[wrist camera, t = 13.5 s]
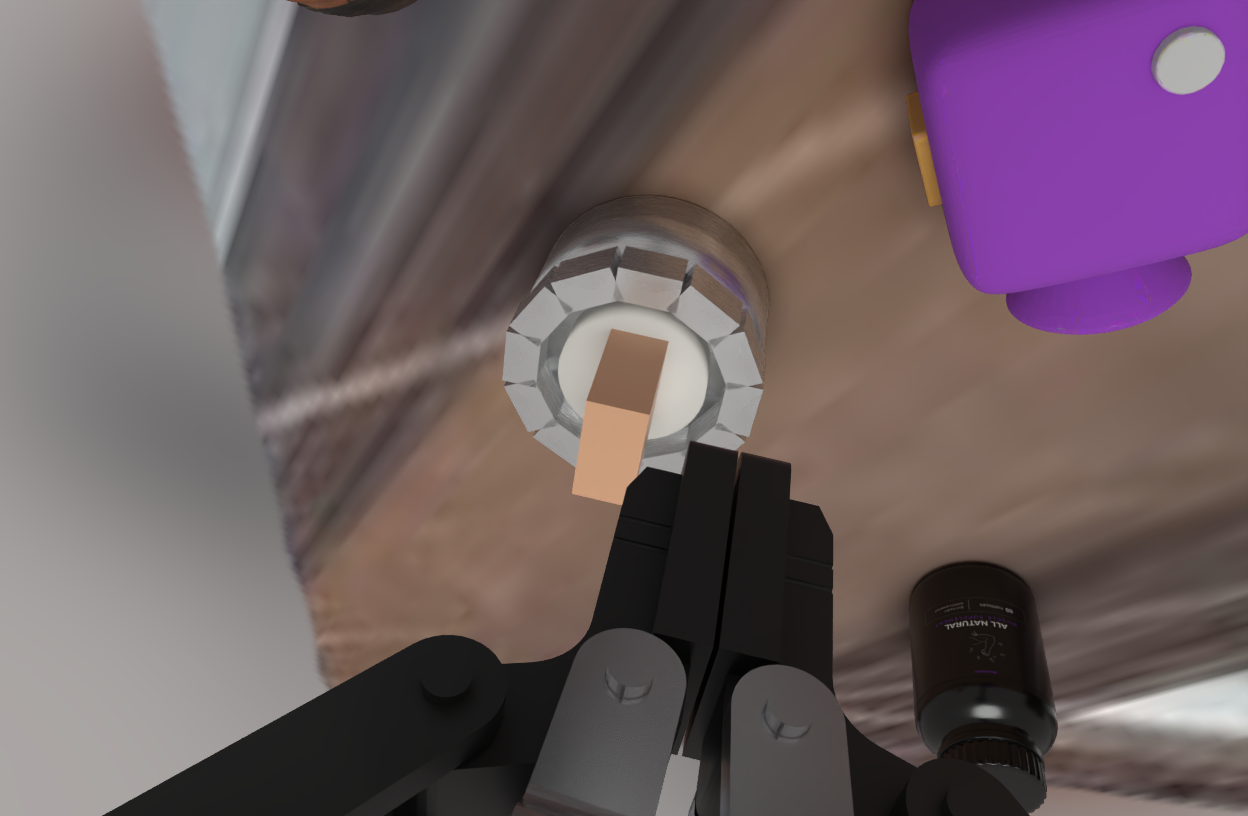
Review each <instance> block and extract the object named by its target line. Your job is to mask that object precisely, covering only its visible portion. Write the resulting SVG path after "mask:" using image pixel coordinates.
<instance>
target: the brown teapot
mask: <svg viewBox="0 0 1248 816" xmlns="http://www.w3.org/2000/svg"><path fill="white" fill-rule="evenodd" d="M287 1H291V2H297V3H298V5H300V6H303V7H305V8H307V9H309V10H311V11H315V12H321V13H324V14H330V15H338V16H346V17H354V16H360V15H366V14H371V15H379V14H386V13H391V12H395V11H398V10H400V9H402V8H404V7H406V6H408V5H410V4H412V3H414V2H415V1H417V0H287Z"/></svg>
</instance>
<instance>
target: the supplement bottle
mask: <svg viewBox="0 0 1248 816" xmlns="http://www.w3.org/2000/svg"><path fill="white" fill-rule="evenodd" d="M909 613H910V638H911V657H912V677H913V696H914V715H915V724H916V729H917V732H918V734H919V736H920V738H921V740H922V742H923V743H924V744H925V746H926V747H927V748H928V749H929V750H930V751H931V752H932V753H933V754H934V755H935V756H936V757H937V759H940V758H953V759H958V760H963V761H966V762H969V763H971V764H974V765H976V766H978V767H980V768H982V769H984V770H985V771H987V772H988V773H990V774H991V775H993V776H994V777H995V778H996V779H997V780H999V781H1000V782H1001V783H1002V784H1003V785H1004V786H1005V787H1006V788H1007V789H1008V790H1009V791H1010V793H1011V794H1012V795H1013V796H1014V797H1015V799H1016V800H1017V801H1018V802H1019V803H1020V805H1021V806H1022V807H1023V808H1024V809H1025V811H1026V812H1027V813H1032V812H1034V811H1035V810H1036V809H1038V808H1039V807H1040V805H1041V804H1043V803H1044V799H1046V792H1047V786H1046V780H1045V774H1044V772H1045V765H1044V760H1043V757H1044V756H1045V755H1046V754H1047V753H1048V751H1049V750H1050V749H1051V747H1052V745H1053V743H1054V741H1055V739H1056V736H1057V731H1058V723H1057V715H1056V709H1055V704H1054V699H1053V693H1052V688H1051V683H1050V677H1049V672H1048V667H1047V661H1046V656H1045V650H1044V645H1043V640H1042V634H1041V629H1040V624H1039V619H1038V614H1037V609H1036V604H1035V601H1034V598H1033V596H1032V594H1031V592H1030V591H1029V589H1028V588H1027V586H1026V585H1025V584H1024V583H1023V582H1021V581H1020V580H1019V579H1018V578H1016V577H1015V576H1013V575H1012V574H1010V573H1008V572H1006V571H1004V570H1001V569H998V568H995V567H991V566H986V565H977V564H965V565H957V566H952V567H948V568H944V569H942V570H939V571H937V572H935V573H933V574H931V575H930V576H928V577H927V578H925V579H924V580H923V581H922V582H921V583H920V584H919V585H918V586H917V588H916V589H915V591H914V592H913V594H912V597H911V600H910V608H909Z"/></svg>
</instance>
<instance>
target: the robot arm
mask: <svg viewBox="0 0 1248 816" xmlns="http://www.w3.org/2000/svg"><path fill="white" fill-rule="evenodd" d="M737 460H738V462H737ZM790 482H791V464H790V463H787V462H783V461H779V460H774V459H770V458H766V457H761V456H757V455H753V454H748V453H744V452H741V454H740V456H739V459H738V451H734V450H730V449H726V448H721V447H717V446H713V445H708V444H704V443H700V442H695V441H691V440H690V441H689V444H688V448H687V452H686V456H685V460H684V464H683V468H682V472H681V474H678V473H673V472H669V471H665V470H660V469H656V468H652V467H648V466H647V467H646V468H645V469H644V470H643V471H642V472H641V473H640V474H639V475H638V476H637V477H636V478H635V479H634V480H633V481H632V482H631V483H630V484H629V485H628V486H627V488H626V492H625V496H624V500H623V504H622V508H621V511H620V515H619V520H618V523H617V527H616V531H615V534H614V539H613V542H612V546H611V550H610V554H609V557H608V561H607V565H606V569H605V573H604V577H603V581H602V584H601V588H600V592H599V596H598V600H597V604H596V607H595V611H594V615H593V619H592V622H591V625H590V628H589V630H588V631H587V633H586V635H585V636H584V637H583V639H582V640H581V641H580V642H579V643H578V644H577V645H576V646H575V647H573V648H572V649H571V650H569V651H567V652H566V653H564V654H562V655H560V656H557V657H555V658H552V659H548V660H545V661H538V662H528V663H510V664H501V662H500V661H499V659H498V658H497V656H496V655H495V654H494V653H493V652H492V651H491V650H490V649H489V648H487V647H486V646H484V645H483V644H481V643H479V642H477V641H475V640H473V639H470V638H466V637H463V636H456V635H440V636H434V637H430V638H426V639H423V640H421V641H419V642H416V643H414V644H412V645H410V646H409V647H407V648H405V649H403V650H401V651H400V652H398V653H396V654H394V655H392V656H391V657H389V658H387V659H385V660H383V661H381V662H380V663H378V664H376V665H374V666H372V667H371V668H369V669H367V670H365V671H363V672H362V673H360V674H358V675H356V676H354V677H353V678H351V679H349V680H347V681H345V682H343V683H342V684H340V685H338V686H336V687H334V688H333V689H331V690H329V691H327V692H325V693H324V694H322V695H320V696H318V697H316V698H315V699H313V700H311V701H309V702H307V703H305V704H304V705H302V706H300V707H298V708H296V709H295V710H293V711H291V712H289V713H287V714H286V715H284V716H282V717H280V718H279V719H277V720H275V721H273V722H271V723H269V724H268V725H266V726H264V727H262V728H260V729H258V730H257V731H255V732H253V733H251V734H249V735H248V736H246V737H244V738H242V739H240V740H239V741H237V742H235V743H233V744H231V745H229V746H228V747H226V748H224V749H222V750H220V751H219V752H217V753H215V754H213V755H211V756H210V757H208V758H206V759H204V760H202V761H201V762H199V763H197V764H195V765H193V766H191V767H190V768H188V769H186V770H184V771H182V772H181V773H179V774H177V775H175V776H173V777H172V778H170V779H168V780H166V781H164V782H163V783H161V784H159V785H157V786H155V787H153V788H152V789H150V790H148V791H146V792H145V793H143V794H141V795H139V796H137V797H136V798H134V799H132V800H130V801H128V802H126V803H125V804H123V805H121V806H119V807H117V808H116V809H114V810H112V811H110V812H108V813H106V814H105V815H103V816H655V814H656V810H657V806H658V802H659V798H660V794H661V790H662V786H663V782H664V777H665V774H666V769H667V766H668V763H669V759H670V756H671V754H675V755H677V754H678V751H679V748H680V745H681V742H682V739H683V736H684V733H685V730H686V733H685V740H684V747H683V754H682V756H685V757H689V758H693V759H697V760H700V767H699V775H698V783H697V790H696V793H695V796H694V799H693V801H692V804H691V806H690V809H689V813H688V816H1029V814H1028V813H1027V812H1026V811H1025V809H1024V808H1023V807H1022V806H1021V805H1020V803H1019V802H1018V801H1017V800H1016V799H1015V797H1014V796H1013V795H1012V794H1011V793H1010V791H1009V790H1008V789H1007V788H1006V787H1005V786H1004V785H1003V784H1002V783H1001V782H1000V781H999V780H997V779H996V778H995V777H994V776H993V775H991V774H990V773H988V772H987V771H985V770H984V769H982V768H980V767H978V766H976V765H974V764H971V763H969V762H966V761H963V760H958V759H953V758H940V759H934V760H931V761H928V762H925V763H924V764H922V765H921V766H919V767H918V768H917V767H915V766H913V765H911V764H910V763H908V762H906V761H904V760H902V759H901V758H899V757H897V756H895V755H894V754H892V753H890V752H888V751H886V750H885V749H883V748H881V747H879V746H878V745H876V744H875V743H873V742H872V741H870V740H869V739H867V738H866V737H865V736H864V735H863V734H861V733H860V732H859V731H858V730H857V729H856V728H855V727H854V726H853V725H852V724H851V722H850V721H849V720H848V718H847V717H846V716H845V714H844V713H843V711H842V709H841V706H840V704H839V702H838V701H837V699H836V696H835V692H834V688H833V679H832V664H833V594H832V589H833V570H832V566H833V534H832V532H831V530H830V527H829V525H828V523H827V521H826V519H825V517H824V515H823V513H822V511H821V509H820V507H819V506H816V505H812V504H808V503H803V502H799V501H795V500H790Z"/></svg>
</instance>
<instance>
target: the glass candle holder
mask: <svg viewBox="0 0 1248 816" xmlns="http://www.w3.org/2000/svg"><path fill="white" fill-rule="evenodd" d="M615 301H622V302H627V303H631V304H635V305H640V306H644V307H649V308H653V309H658V310H662V311H667V312H671V313H672V314H673V315H674V316H676V317H677V318H678V319H679V320H681V321H682V322H683V323H684V324H686V325H687V326H688V327H689V328H691V329H692V330H693V331H694V332H696V333H697V334H698V335H699V336H701V337H702V338H703V339H704V340H706V341H707V343H708V346H709V349H710V356H711V367H710V373H709V379H708V384H707V389H706V395H705V399H704V402H703V405H702V407H701V409H700V411H699V412H698V414H697V415H696V416H695V418H694V419H693V420H692V421H691V422H690V423H689V424H688V425H686V426H685V427H683V428H682V429H680V430H679V431H677V432H675V433H673V434H670V435H668V436H665V437H661V438H656V439H649V440H647V443H646V447H645V451H644V455H643V459H642V463H641V467H640V471H639V474H640V473H641V472H642V471H643V470H644V469H645V468H646V467H647V466H648V467H652V468H656V469H660V470H665V471H669V472H673V473H678V474H681V472H682V468H683V464H684V460H685V456H686V452H687V448H688V444H689V441H690V440H691V441H695V442H700V443H704V444H708V445H713V446H717V447H721V448H726V449H730V450H736V449H737V448H738V447H739V446H741V445H742V444H743V443H745V439H746V436H747V437H749V435H750V431H751V428H752V425H753V421H754V418H755V415H756V411H757V408H758V405H759V402H760V398H761V395H762V392H763V386H764V376H765V367H766V365H765V356H764V348H765V339H766V330H767V321H768V309H769V296H768V287H767V283H766V279H765V275H764V272H763V270H762V267H761V265H760V262H759V260H758V258H757V257H756V255H755V253H754V252H753V250H752V248H751V247H750V246H749V245H748V243H747V242H746V241H745V239H744V238H743V237H742V236H741V235H740V234H739V233H738V232H737V231H736V230H735V229H734V228H733V227H732V226H731V225H729V224H728V223H727V222H725V221H724V220H723V219H721V218H720V217H719V216H717V215H715V214H713V213H712V212H710V211H708V210H706V209H705V208H702V207H700V206H697V205H695V204H693V203H690V202H687V201H683V200H680V199H676V198H671V197H665V196H657V195H638V196H627V197H623V198H618V199H614V200H611V201H608V202H605V203H602V204H600V205H598V206H596V207H594V208H592V209H590V210H588V211H586V212H585V213H583V214H582V215H581V216H579V217H578V218H577V219H575V220H574V221H573V222H572V223H571V224H570V225H569V226H568V227H567V228H566V229H565V230H564V231H563V233H562V234H561V235H560V236H559V238H558V239H557V241H556V242H555V244H554V246H553V248H552V250H551V252H550V254H549V256H548V258H547V260H546V262H545V264H544V266H543V268H542V270H541V272H540V274H539V276H538V278H537V280H536V282H535V284H534V286H533V288H532V290H531V292H530V293H529V295H528V296H527V297H526V298H525V299H524V300H523V301H522V302H521V303H520V305H519V307H518V309H517V311H516V313H515V315H514V317H513V319H512V321H511V323H510V325H509V328H508V330H507V333H506V345H505V357H504V369H503V380H504V381H506V383H505V385H504V388H505V389H506V391H507V393H508V395H509V397H510V399H511V401H512V402H513V404H514V406H515V408H516V410H517V412H518V414H519V415H520V417H521V419H522V421H523V423H524V425H525V427H526V428H527V430H528V432H529V431H534V430H535V433H534V435H533V437H534V438H535V439H537V440H538V441H539V442H541V443H542V444H544V445H545V446H546V447H548V448H549V449H551V450H552V451H553V452H555V453H556V454H557V455H559V456H560V457H562V458H563V459H564V460H566V461H567V462H569V463H570V464H571V465H573V466H574V467H576V464H577V458H578V451H579V445H580V438H581V432H582V425H583V419H582V418H581V417H580V416H579V415H578V414H577V413H576V412H575V411H574V410H573V409H572V407H571V406H570V405H569V403H568V402H567V400H566V398H565V397H564V395H563V392H562V390H561V387H560V383H559V378H558V363H559V358H560V355H561V353H562V350H563V347H564V345H565V343H566V340H567V338H568V335H569V333H570V330H571V328H572V326H573V324H574V323H575V321H576V319H577V318H578V317H579V316H580V314H581V313H582V312H584V311H585V310H586V309H587V308H591V307H595V306H599V305H603V304H607V303H611V302H615Z"/></svg>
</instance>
